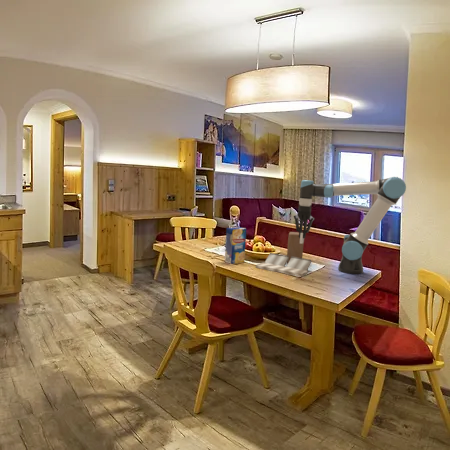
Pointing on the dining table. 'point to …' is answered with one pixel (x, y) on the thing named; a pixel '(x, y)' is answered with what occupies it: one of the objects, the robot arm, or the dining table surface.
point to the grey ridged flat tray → (281, 269)
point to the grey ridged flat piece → (277, 259)
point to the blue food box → (235, 245)
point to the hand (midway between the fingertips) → (301, 243)
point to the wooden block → (294, 246)
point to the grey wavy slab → (299, 263)
